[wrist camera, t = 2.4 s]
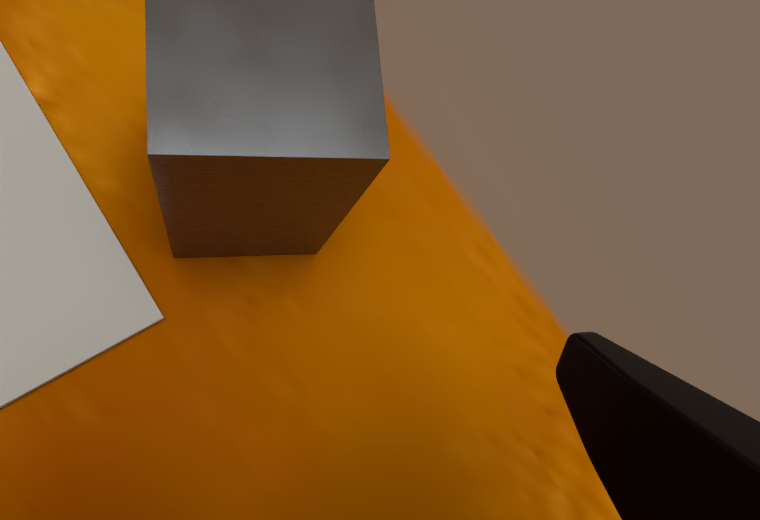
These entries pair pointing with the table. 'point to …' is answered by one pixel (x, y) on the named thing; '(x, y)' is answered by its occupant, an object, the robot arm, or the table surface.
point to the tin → (261, 120)
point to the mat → (54, 256)
